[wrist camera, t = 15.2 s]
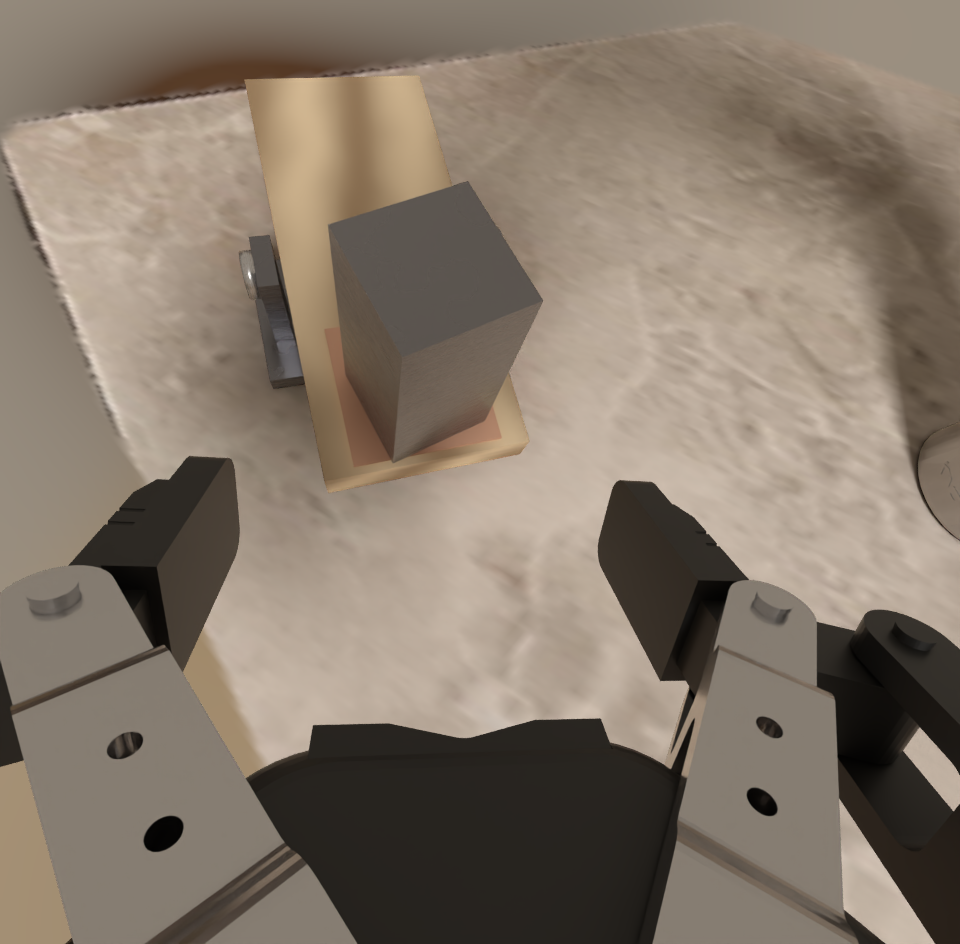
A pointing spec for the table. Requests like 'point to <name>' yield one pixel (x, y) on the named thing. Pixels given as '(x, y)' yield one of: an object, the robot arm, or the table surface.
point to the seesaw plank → (307, 255)
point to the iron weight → (428, 314)
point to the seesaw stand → (272, 311)
